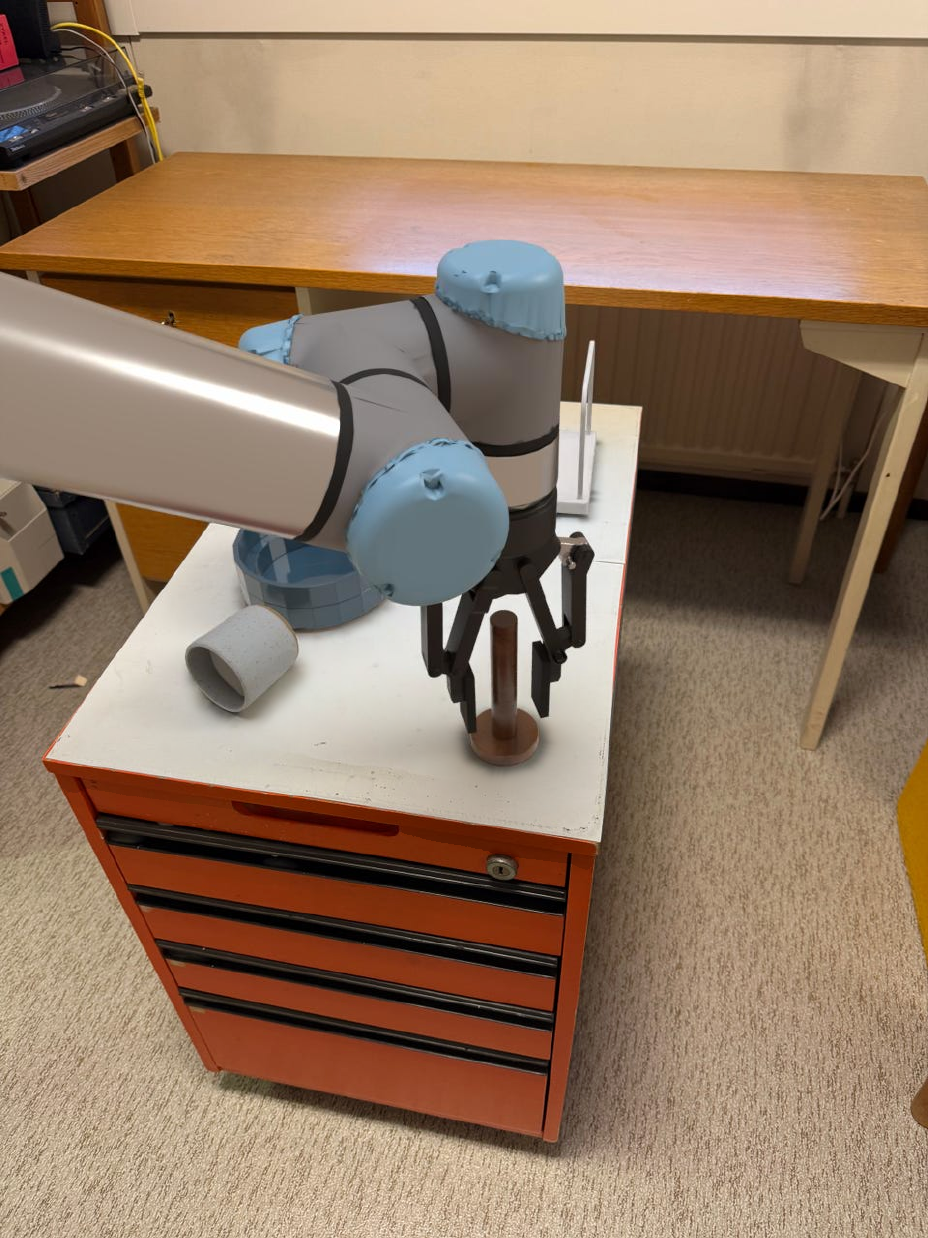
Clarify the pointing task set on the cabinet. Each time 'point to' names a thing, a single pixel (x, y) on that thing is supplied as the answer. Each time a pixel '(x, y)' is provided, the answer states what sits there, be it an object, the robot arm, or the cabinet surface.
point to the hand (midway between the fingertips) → (504, 713)
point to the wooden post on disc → (504, 701)
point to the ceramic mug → (242, 656)
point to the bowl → (300, 580)
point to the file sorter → (578, 453)
